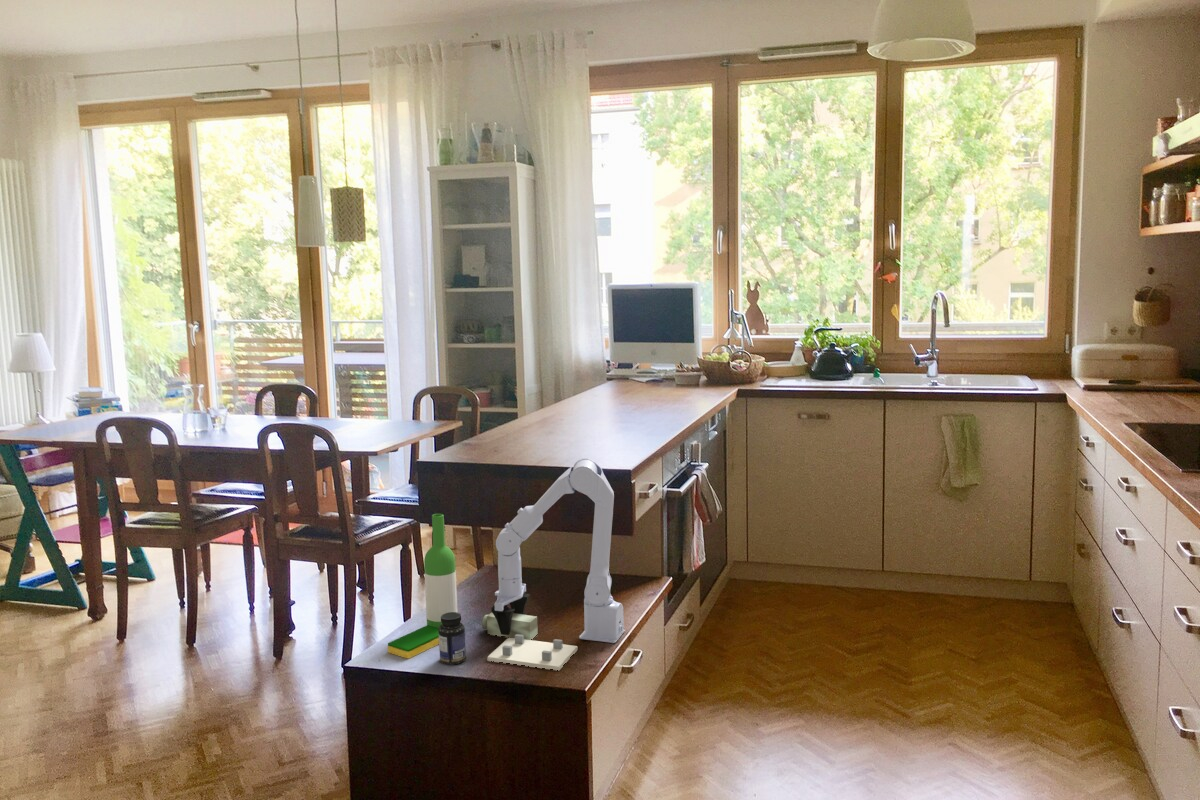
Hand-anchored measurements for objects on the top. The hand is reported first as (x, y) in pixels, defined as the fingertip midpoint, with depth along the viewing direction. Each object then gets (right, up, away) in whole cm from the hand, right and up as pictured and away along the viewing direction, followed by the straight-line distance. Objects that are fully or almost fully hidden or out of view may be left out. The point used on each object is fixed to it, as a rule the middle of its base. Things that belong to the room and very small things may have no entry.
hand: (511, 628), depth 244 cm
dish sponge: (-22, -3, -5) cm, 23 cm away
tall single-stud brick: (0, -2, 0) cm, 2 cm away
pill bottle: (-13, -4, -14) cm, 19 cm away
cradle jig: (+6, -4, -12) cm, 14 cm away
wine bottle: (-18, -1, +4) cm, 18 cm away
